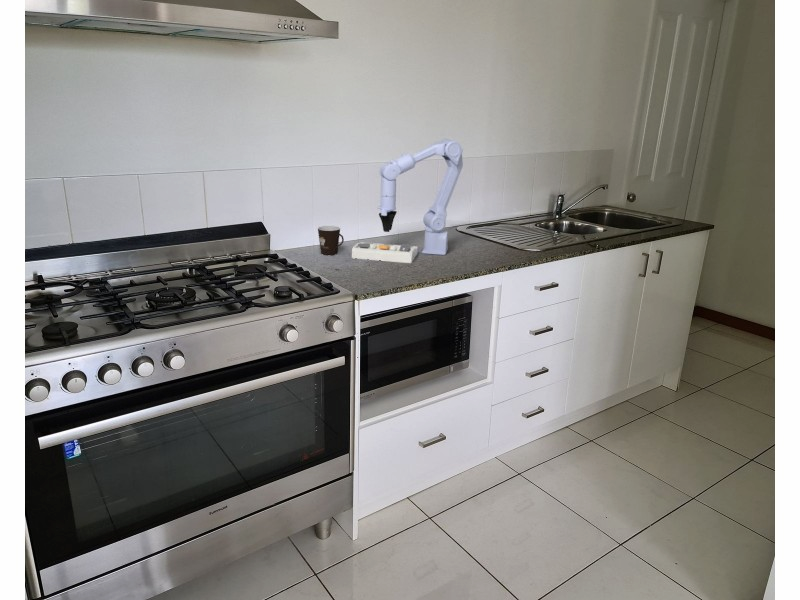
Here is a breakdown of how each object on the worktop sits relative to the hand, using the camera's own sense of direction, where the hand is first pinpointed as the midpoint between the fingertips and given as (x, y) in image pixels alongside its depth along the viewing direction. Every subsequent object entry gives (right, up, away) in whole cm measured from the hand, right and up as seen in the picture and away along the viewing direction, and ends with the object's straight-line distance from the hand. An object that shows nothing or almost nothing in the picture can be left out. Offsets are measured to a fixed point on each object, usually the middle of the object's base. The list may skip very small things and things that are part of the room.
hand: (387, 230), depth 223 cm
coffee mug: (-22, -9, 0) cm, 24 cm away
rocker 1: (-9, -7, -2) cm, 12 cm away
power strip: (-1, -10, 0) cm, 10 cm away
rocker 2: (+7, -8, -4) cm, 11 cm away
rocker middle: (-1, -8, -3) cm, 8 cm away
